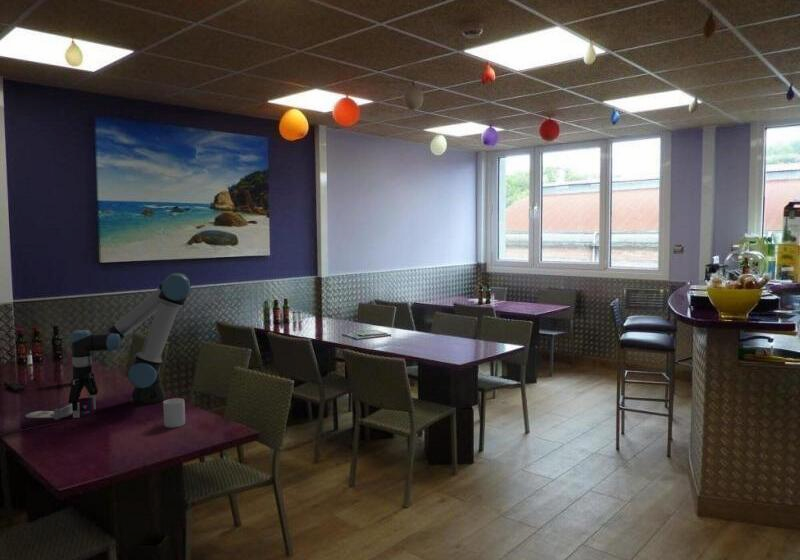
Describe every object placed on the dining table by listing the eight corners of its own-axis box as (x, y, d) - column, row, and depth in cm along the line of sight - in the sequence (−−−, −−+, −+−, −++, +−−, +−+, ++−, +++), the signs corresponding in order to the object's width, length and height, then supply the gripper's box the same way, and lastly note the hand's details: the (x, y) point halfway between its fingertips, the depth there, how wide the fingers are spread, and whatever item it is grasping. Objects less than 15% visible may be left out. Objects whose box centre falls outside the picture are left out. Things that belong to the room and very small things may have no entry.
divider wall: (81, 407, 275) (81, 398, 275) (58, 419, 258) (57, 409, 257) (78, 407, 275) (77, 398, 275) (54, 419, 258) (53, 409, 257)
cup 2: (167, 429, 244) (166, 404, 243) (159, 421, 253) (158, 398, 253) (187, 425, 249) (186, 401, 248) (179, 418, 258) (178, 395, 257)
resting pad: (77, 411, 269) (77, 411, 269) (65, 418, 260) (65, 417, 260) (34, 411, 270) (34, 410, 270) (20, 417, 261) (20, 417, 261)
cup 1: (76, 417, 260) (76, 402, 259) (75, 412, 269) (74, 397, 268) (94, 415, 263) (93, 400, 263) (92, 409, 272) (91, 395, 271)
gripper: (89, 359, 276) (91, 405, 278) (57, 371, 252) (60, 421, 254) (104, 359, 276) (107, 405, 278) (74, 371, 252) (77, 421, 254)
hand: (84, 413), depth 266 cm, fingers open, 12 cm apart
